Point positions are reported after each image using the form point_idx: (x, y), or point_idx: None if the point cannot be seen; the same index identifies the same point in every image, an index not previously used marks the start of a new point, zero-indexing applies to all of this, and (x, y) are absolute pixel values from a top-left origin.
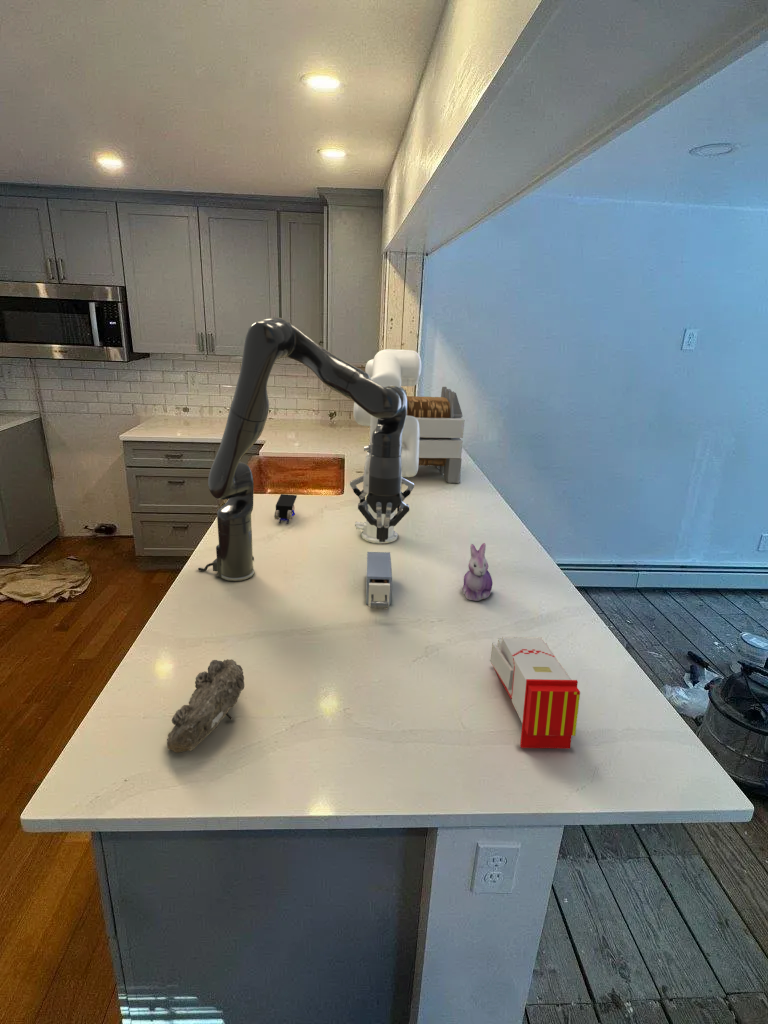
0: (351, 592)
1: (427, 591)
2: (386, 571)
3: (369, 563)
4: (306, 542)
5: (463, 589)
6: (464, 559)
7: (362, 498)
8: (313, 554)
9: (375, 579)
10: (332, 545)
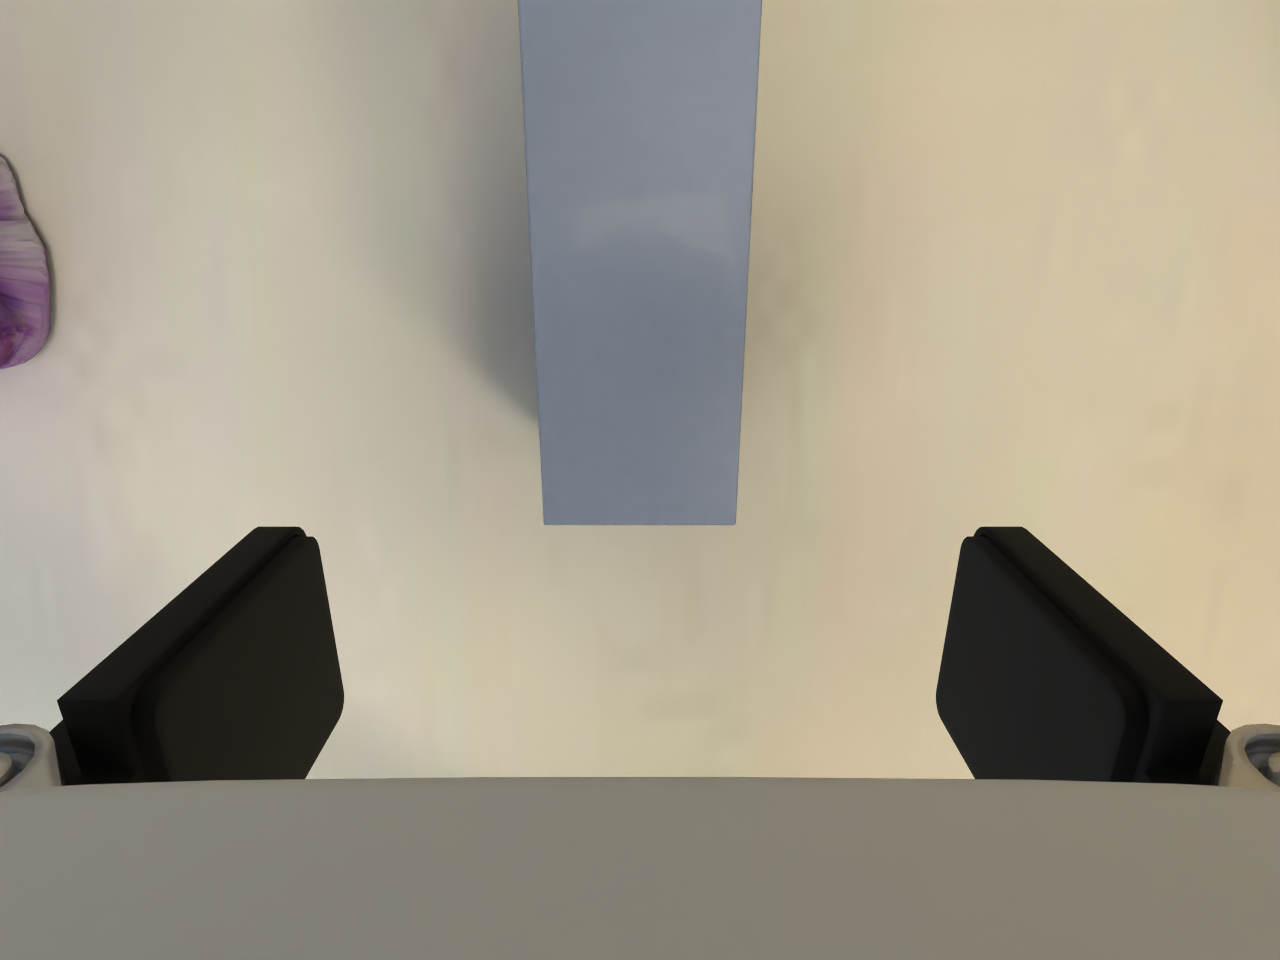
0: (823, 225)
1: (299, 272)
2: (572, 116)
3: (727, 285)
4: None
5: (30, 267)
6: None
7: (1239, 747)
8: None
9: None
10: None
